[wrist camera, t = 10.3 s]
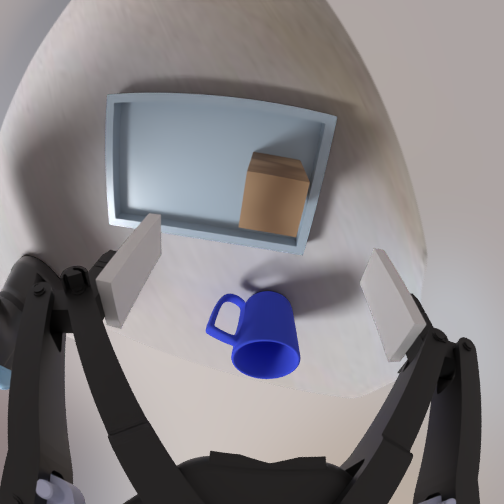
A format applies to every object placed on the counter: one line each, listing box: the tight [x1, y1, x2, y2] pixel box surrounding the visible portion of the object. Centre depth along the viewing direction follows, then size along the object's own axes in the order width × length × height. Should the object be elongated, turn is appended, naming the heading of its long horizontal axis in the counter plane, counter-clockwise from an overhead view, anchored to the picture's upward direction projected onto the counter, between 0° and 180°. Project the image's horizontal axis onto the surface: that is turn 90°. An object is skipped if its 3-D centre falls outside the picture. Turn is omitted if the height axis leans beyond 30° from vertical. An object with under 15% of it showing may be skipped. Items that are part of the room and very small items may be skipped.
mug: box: [206, 291, 300, 379], centre depth 35 cm, size 8×12×10 cm
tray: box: [105, 93, 337, 255], centre depth 29 cm, size 24×16×2 cm, turn 82°
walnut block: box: [239, 152, 310, 237], centre depth 26 cm, size 5×5×8 cm
